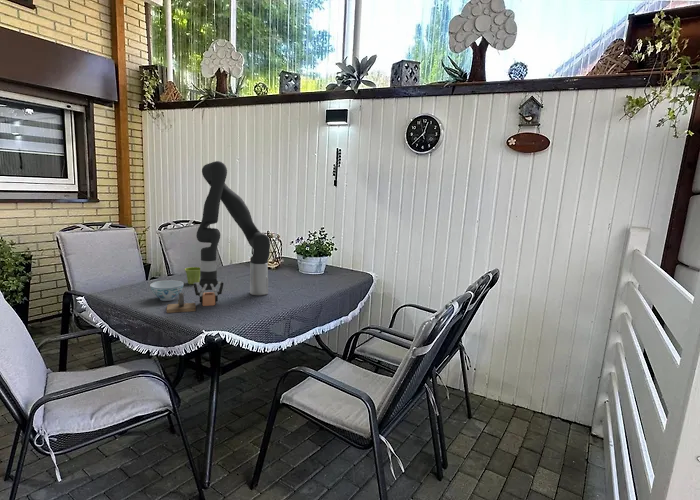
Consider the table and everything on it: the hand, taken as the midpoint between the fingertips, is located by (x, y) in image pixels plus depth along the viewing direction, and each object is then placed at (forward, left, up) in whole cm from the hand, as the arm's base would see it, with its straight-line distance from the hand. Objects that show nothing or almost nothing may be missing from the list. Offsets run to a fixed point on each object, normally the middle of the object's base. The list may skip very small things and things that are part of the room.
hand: (208, 302), depth 187 cm
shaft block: (+12, +6, 0) cm, 13 cm away
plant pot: (+7, -41, -1) cm, 42 cm away
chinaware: (+19, -12, -1) cm, 22 cm away
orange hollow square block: (0, 0, 0) cm, 0 cm away
